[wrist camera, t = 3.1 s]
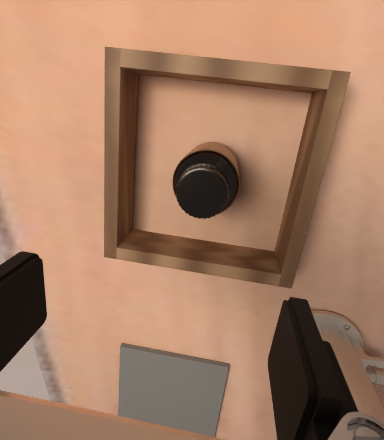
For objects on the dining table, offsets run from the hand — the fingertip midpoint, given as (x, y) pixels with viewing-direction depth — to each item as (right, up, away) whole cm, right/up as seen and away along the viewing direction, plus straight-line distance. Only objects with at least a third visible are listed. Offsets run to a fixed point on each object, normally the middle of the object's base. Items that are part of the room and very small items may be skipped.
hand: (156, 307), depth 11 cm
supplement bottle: (+4, +10, +27) cm, 28 cm away
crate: (+4, +10, +26) cm, 28 cm away
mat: (-3, -27, +41) cm, 49 cm away
